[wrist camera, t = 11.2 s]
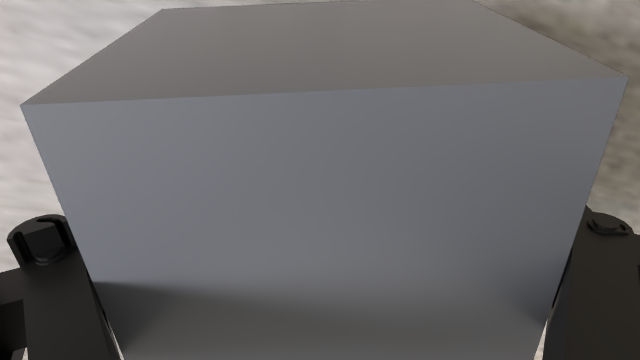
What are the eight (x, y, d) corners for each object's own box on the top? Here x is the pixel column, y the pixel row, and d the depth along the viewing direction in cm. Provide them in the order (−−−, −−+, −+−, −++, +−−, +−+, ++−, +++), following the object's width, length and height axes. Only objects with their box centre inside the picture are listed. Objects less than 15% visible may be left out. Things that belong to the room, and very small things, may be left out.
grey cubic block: (162, 8, 15) (19, 105, 7) (462, -5, 15) (629, 77, 7) (211, 244, 20) (158, 442, 12) (433, 233, 20) (512, 421, 13)
